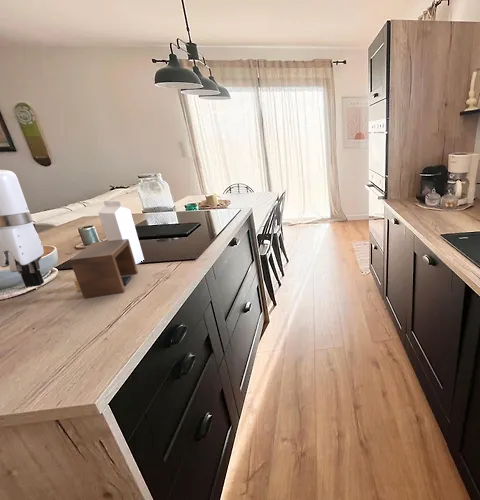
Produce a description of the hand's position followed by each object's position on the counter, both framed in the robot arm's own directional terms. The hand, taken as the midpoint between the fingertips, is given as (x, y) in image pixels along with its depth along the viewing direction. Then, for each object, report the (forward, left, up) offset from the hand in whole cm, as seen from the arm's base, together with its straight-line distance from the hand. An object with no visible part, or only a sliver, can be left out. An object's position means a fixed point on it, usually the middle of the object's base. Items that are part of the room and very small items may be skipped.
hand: (35, 284), depth 79 cm
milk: (+17, +17, -3) cm, 24 cm away
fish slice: (+15, 0, -3) cm, 15 cm away
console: (+17, 0, -3) cm, 17 cm away
